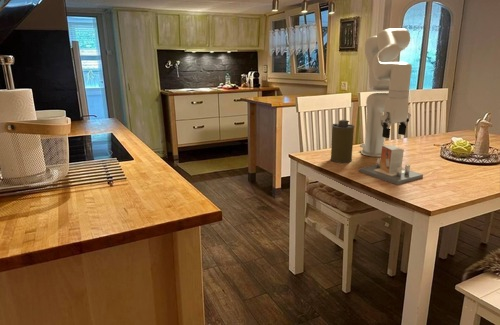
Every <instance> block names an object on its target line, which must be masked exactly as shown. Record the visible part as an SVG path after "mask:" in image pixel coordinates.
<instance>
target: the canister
mask: <svg viewBox="0 0 500 325" xmlns="http://www.w3.org/2000/svg"><path fill="white" fill-rule="evenodd" d="M349 122H350V121H349V120H347V119H340V120H339V121H338V123H332V125H331V128H332V129H331V130H332V131H331V145H330V146H331V151H330V152H331V153H330V160H331V161H332V162H334V163H338V164H346V163H347V164H348V163H351V162H352V161H353V159H352V158H353V144H354V143H353V142H354V129H355V125H354V124H349Z"/></svg>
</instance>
